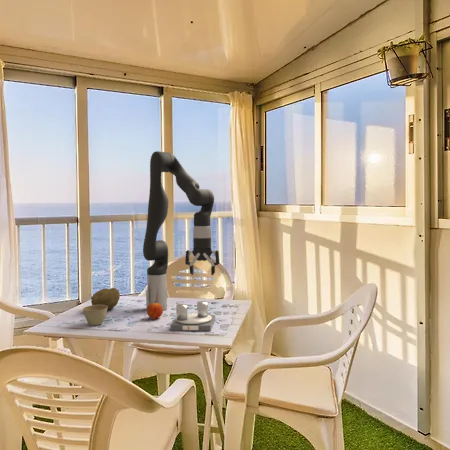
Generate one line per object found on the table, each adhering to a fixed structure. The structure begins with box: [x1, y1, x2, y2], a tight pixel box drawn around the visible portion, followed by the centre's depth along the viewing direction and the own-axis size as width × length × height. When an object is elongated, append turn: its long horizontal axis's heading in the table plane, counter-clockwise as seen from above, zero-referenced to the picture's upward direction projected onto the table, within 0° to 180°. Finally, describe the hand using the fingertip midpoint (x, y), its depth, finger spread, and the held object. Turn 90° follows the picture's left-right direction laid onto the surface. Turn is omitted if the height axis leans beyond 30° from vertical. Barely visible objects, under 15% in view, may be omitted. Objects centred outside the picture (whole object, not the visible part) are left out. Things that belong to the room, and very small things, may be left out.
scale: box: [170, 312, 216, 332], centre depth 171 cm, size 16×17×3 cm
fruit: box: [146, 301, 164, 320], centre depth 182 cm, size 7×7×8 cm
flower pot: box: [82, 304, 108, 326], centre depth 174 cm, size 10×10×7 cm
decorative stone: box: [90, 287, 121, 311], centre depth 198 cm, size 17×11×10 cm, turn 164°
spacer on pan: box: [175, 303, 188, 321], centre depth 169 cm, size 4×4×6 cm
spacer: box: [196, 300, 209, 318], centre depth 174 cm, size 4×4×6 cm
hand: (202, 274), depth 174 cm, fingers open, 8 cm apart
